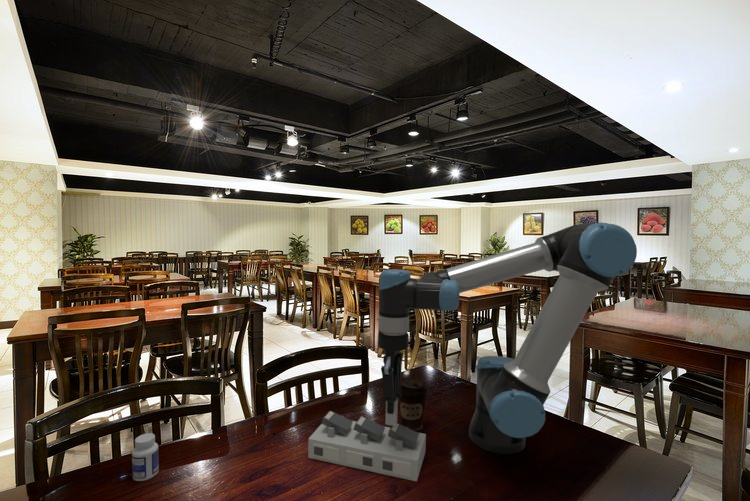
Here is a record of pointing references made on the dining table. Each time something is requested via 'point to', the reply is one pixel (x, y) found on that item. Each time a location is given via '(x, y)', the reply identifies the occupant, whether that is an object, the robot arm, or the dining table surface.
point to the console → (368, 452)
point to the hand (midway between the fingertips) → (391, 423)
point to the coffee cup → (412, 403)
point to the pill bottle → (145, 457)
